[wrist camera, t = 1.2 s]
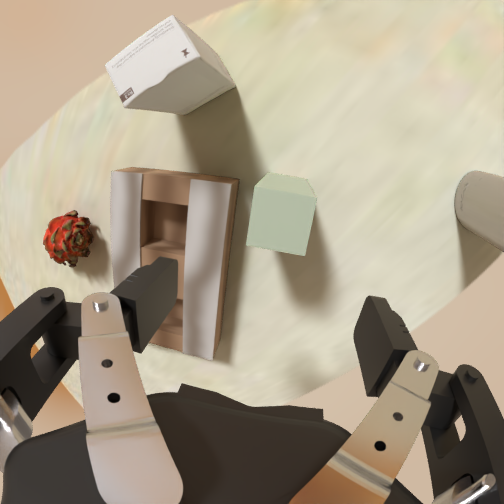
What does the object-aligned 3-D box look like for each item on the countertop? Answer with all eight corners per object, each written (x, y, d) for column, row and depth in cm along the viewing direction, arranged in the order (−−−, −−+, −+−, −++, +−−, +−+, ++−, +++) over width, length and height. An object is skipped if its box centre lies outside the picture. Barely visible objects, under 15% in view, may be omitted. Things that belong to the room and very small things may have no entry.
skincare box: (218, 54, 30) (176, 8, 16) (238, 89, 31) (204, 54, 18) (165, 85, 32) (100, 61, 18) (182, 120, 34) (121, 109, 20)
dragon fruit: (110, 217, 42) (77, 241, 47) (71, 189, 36) (43, 219, 40) (97, 261, 37) (65, 280, 42) (51, 233, 31) (28, 259, 36)
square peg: (307, 179, 34) (317, 197, 22) (300, 216, 36) (304, 256, 23) (268, 172, 35) (254, 186, 22) (262, 209, 37) (245, 245, 24)
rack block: (239, 179, 36) (231, 184, 31) (220, 339, 45) (212, 360, 40) (131, 167, 37) (111, 171, 32) (134, 317, 46) (120, 334, 41)
